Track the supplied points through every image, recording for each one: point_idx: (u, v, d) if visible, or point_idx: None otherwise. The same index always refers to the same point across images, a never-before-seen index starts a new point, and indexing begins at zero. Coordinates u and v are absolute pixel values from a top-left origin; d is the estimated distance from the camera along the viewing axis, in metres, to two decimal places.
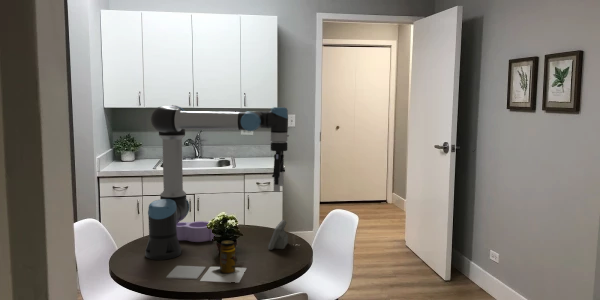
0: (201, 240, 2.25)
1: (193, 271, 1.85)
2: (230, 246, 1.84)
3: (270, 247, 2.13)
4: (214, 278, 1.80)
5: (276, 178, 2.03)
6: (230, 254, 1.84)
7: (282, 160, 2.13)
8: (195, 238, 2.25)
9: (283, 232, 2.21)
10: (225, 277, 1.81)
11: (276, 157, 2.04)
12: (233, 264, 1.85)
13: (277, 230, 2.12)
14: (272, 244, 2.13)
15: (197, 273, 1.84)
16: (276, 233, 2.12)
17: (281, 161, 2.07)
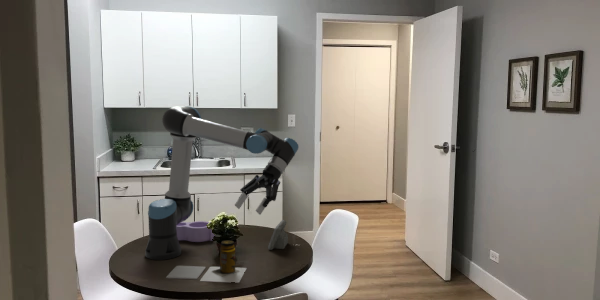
0: (201, 240, 2.25)
1: (193, 271, 1.85)
2: (230, 246, 1.84)
3: (270, 247, 2.13)
4: (214, 278, 1.80)
5: (268, 201, 1.88)
6: (230, 254, 1.84)
7: (261, 186, 1.99)
8: (195, 238, 2.25)
9: (283, 232, 2.21)
10: (225, 277, 1.81)
11: (277, 182, 1.93)
12: (233, 264, 1.85)
13: (277, 230, 2.12)
14: (272, 244, 2.13)
15: (197, 273, 1.84)
16: (276, 233, 2.12)
17: (271, 188, 1.95)
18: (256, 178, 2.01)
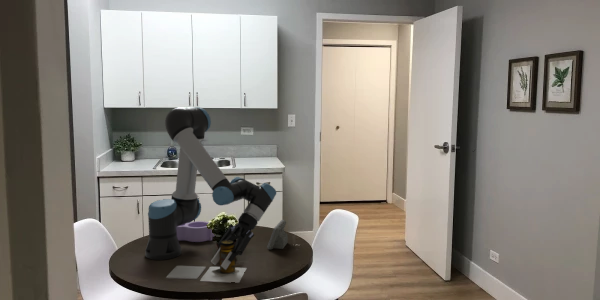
0: (200, 240, 2.25)
1: (193, 271, 1.85)
2: (230, 246, 1.84)
3: (269, 247, 2.13)
4: (214, 278, 1.80)
5: (234, 255, 1.83)
6: None
7: (238, 236, 1.91)
8: (194, 238, 2.24)
9: (283, 232, 2.21)
10: (225, 277, 1.81)
11: (250, 235, 1.86)
12: (233, 264, 1.85)
13: (276, 230, 2.12)
14: (271, 244, 2.13)
15: (197, 273, 1.84)
16: (275, 233, 2.12)
17: None
18: (231, 228, 1.93)
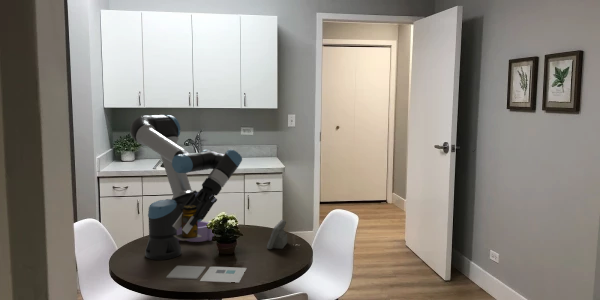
0: (200, 240, 2.25)
1: (193, 271, 1.85)
2: (192, 210, 1.81)
3: (269, 247, 2.14)
4: (214, 278, 1.80)
5: (196, 219, 1.80)
6: None
7: None
8: (194, 238, 2.24)
9: (282, 232, 2.22)
10: (225, 277, 1.81)
11: (212, 200, 1.83)
12: (195, 229, 1.83)
13: (276, 230, 2.12)
14: (271, 244, 2.13)
15: (197, 273, 1.84)
16: (275, 233, 2.12)
17: None
18: (195, 193, 1.90)
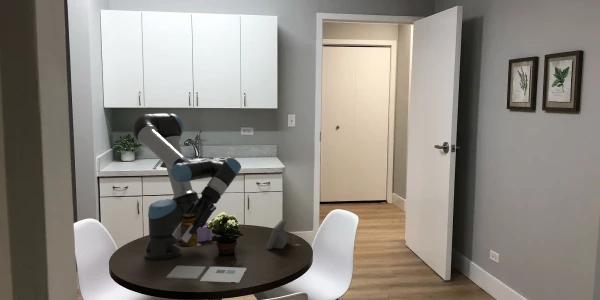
0: (200, 240, 2.25)
1: (193, 271, 1.85)
2: (191, 219, 1.81)
3: (269, 246, 2.14)
4: (214, 278, 1.80)
5: (195, 228, 1.80)
6: None
7: None
8: None
9: (282, 232, 2.22)
10: (225, 277, 1.81)
11: (211, 208, 1.83)
12: (194, 237, 1.82)
13: (275, 230, 2.12)
14: (271, 243, 2.13)
15: (197, 273, 1.84)
16: (274, 233, 2.12)
17: None
18: (194, 202, 1.90)
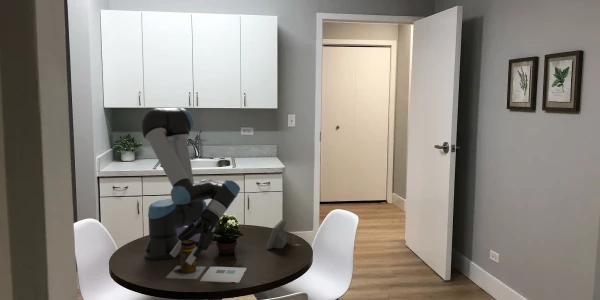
0: None
1: None
2: (190, 245, 1.83)
3: (268, 246, 2.14)
4: (214, 278, 1.80)
5: (200, 250, 1.80)
6: (190, 253, 1.83)
7: (199, 231, 1.91)
8: (193, 238, 2.24)
9: (282, 232, 2.22)
10: (225, 277, 1.81)
11: (212, 229, 1.84)
12: (193, 264, 1.84)
13: (275, 230, 2.12)
14: (270, 243, 2.13)
15: (197, 273, 1.84)
16: (274, 232, 2.12)
17: None
18: (194, 223, 1.92)
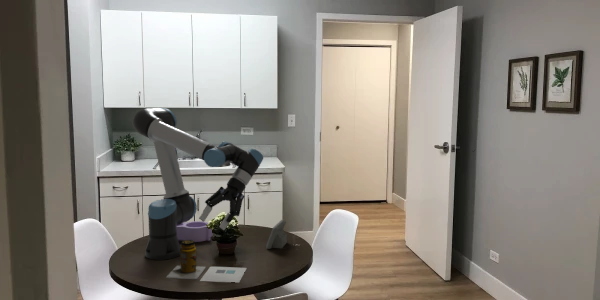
0: (198, 240, 2.25)
1: None
2: (190, 245, 1.83)
3: (268, 246, 2.14)
4: (214, 278, 1.80)
5: (232, 216, 1.89)
6: (190, 253, 1.83)
7: None
8: (192, 238, 2.24)
9: (282, 232, 2.22)
10: (225, 277, 1.81)
11: (241, 196, 1.93)
12: (193, 264, 1.84)
13: (275, 229, 2.12)
14: (270, 243, 2.14)
15: (197, 273, 1.84)
16: (274, 232, 2.13)
17: (235, 201, 1.96)
18: (221, 190, 2.01)
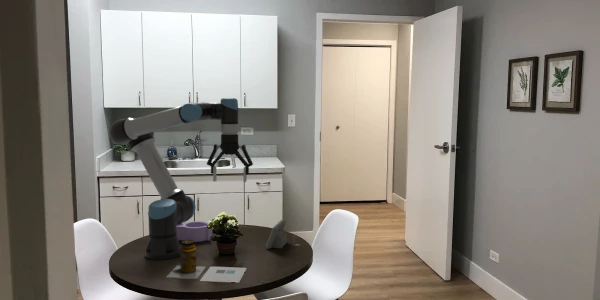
0: (198, 240, 2.25)
1: None
2: (190, 245, 1.83)
3: (268, 246, 2.14)
4: (214, 278, 1.80)
5: (248, 168, 2.07)
6: (190, 253, 1.83)
7: None
8: (192, 238, 2.24)
9: (282, 231, 2.22)
10: (225, 277, 1.81)
11: (245, 147, 2.06)
12: (193, 264, 1.84)
13: (274, 229, 2.13)
14: (270, 243, 2.14)
15: (197, 273, 1.84)
16: (273, 232, 2.13)
17: (238, 152, 2.08)
18: (217, 148, 2.06)
